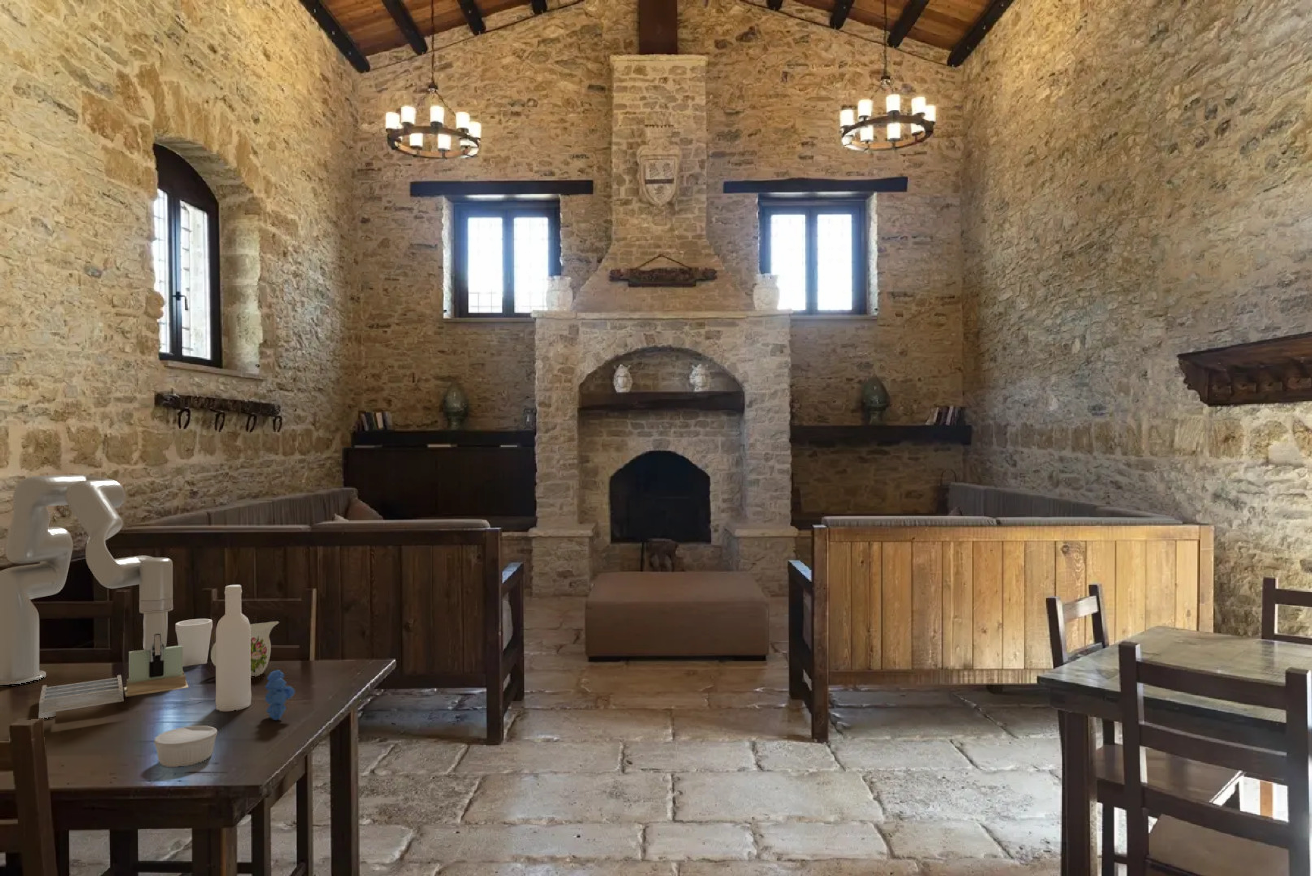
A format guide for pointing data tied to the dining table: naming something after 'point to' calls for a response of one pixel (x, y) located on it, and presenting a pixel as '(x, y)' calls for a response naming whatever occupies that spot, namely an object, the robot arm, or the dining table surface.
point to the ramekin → (185, 745)
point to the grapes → (277, 694)
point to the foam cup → (194, 640)
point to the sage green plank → (142, 659)
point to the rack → (79, 695)
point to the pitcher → (256, 647)
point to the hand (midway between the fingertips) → (156, 674)
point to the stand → (155, 685)
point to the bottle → (233, 655)
